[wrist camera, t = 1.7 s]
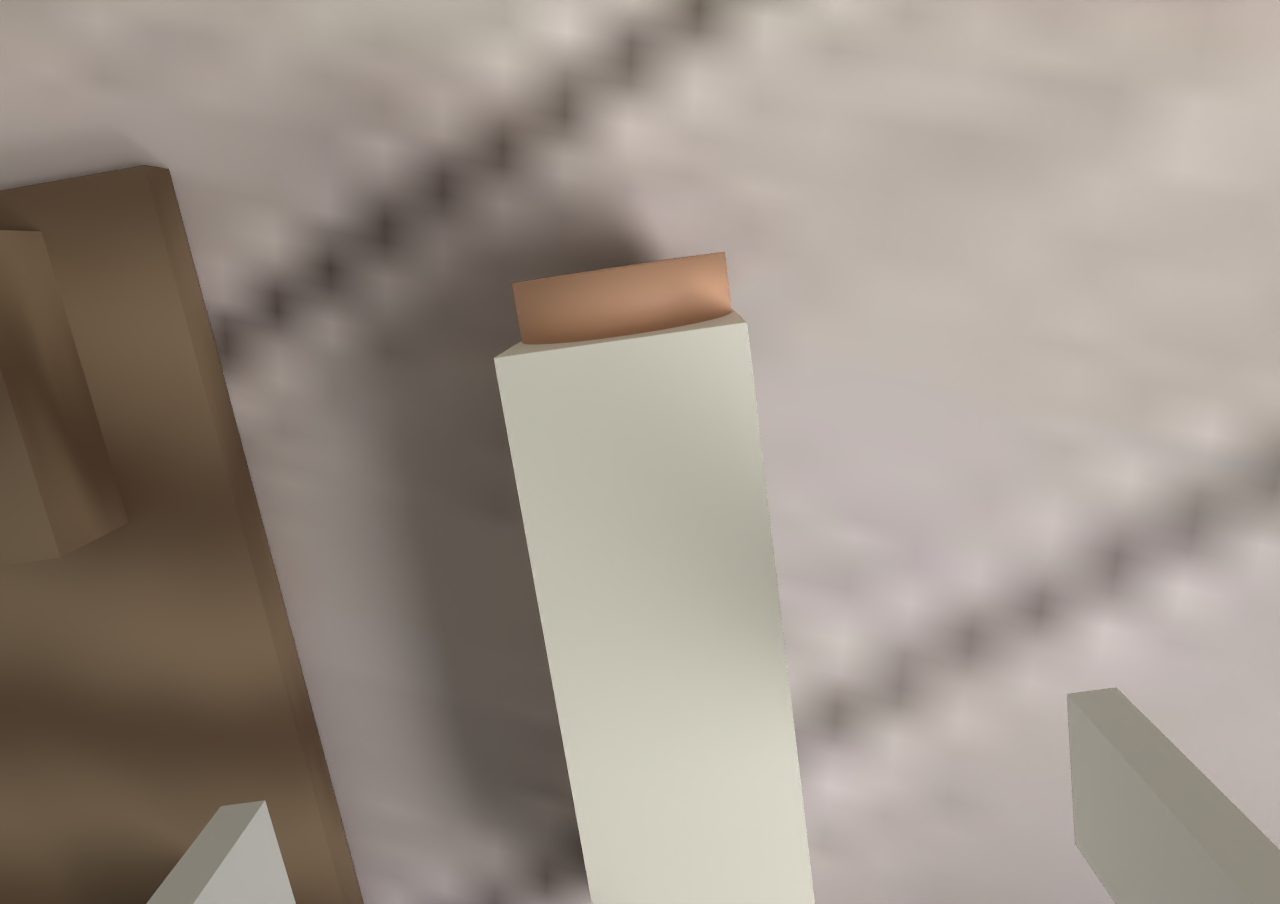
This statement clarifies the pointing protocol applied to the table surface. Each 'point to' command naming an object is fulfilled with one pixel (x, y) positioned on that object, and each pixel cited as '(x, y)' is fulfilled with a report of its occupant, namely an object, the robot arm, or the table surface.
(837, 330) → the table surface
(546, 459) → the block
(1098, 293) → the table surface
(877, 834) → the table surface
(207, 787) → the cradle
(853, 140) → the table surface
